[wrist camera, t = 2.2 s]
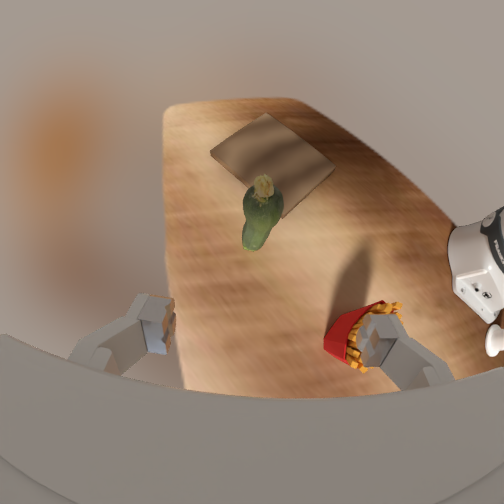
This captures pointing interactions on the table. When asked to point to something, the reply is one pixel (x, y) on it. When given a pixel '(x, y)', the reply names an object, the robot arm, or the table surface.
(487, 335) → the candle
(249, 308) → the table surface
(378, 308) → the french fries
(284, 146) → the cutting board
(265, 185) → the vegetable
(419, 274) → the table surface
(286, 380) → the table surface
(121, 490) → the robot arm
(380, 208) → the table surface
